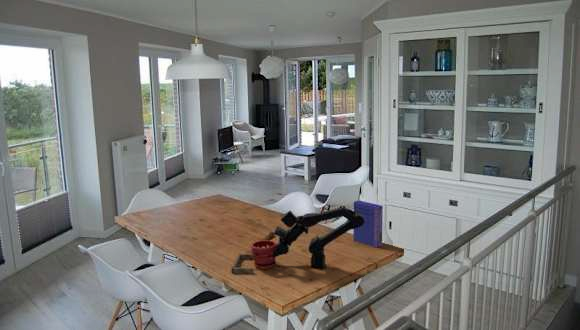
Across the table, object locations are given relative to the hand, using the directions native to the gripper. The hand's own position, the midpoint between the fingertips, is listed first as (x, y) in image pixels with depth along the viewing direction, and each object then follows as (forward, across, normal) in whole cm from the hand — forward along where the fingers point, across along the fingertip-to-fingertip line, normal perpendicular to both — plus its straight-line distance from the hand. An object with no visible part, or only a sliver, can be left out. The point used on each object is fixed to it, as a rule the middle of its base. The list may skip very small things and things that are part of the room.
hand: (273, 253), depth 241 cm
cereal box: (-32, -36, +41) cm, 63 cm away
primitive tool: (+12, -39, -1) cm, 40 cm away
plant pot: (+8, 0, +2) cm, 8 cm away
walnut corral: (+15, 0, -5) cm, 16 cm away
